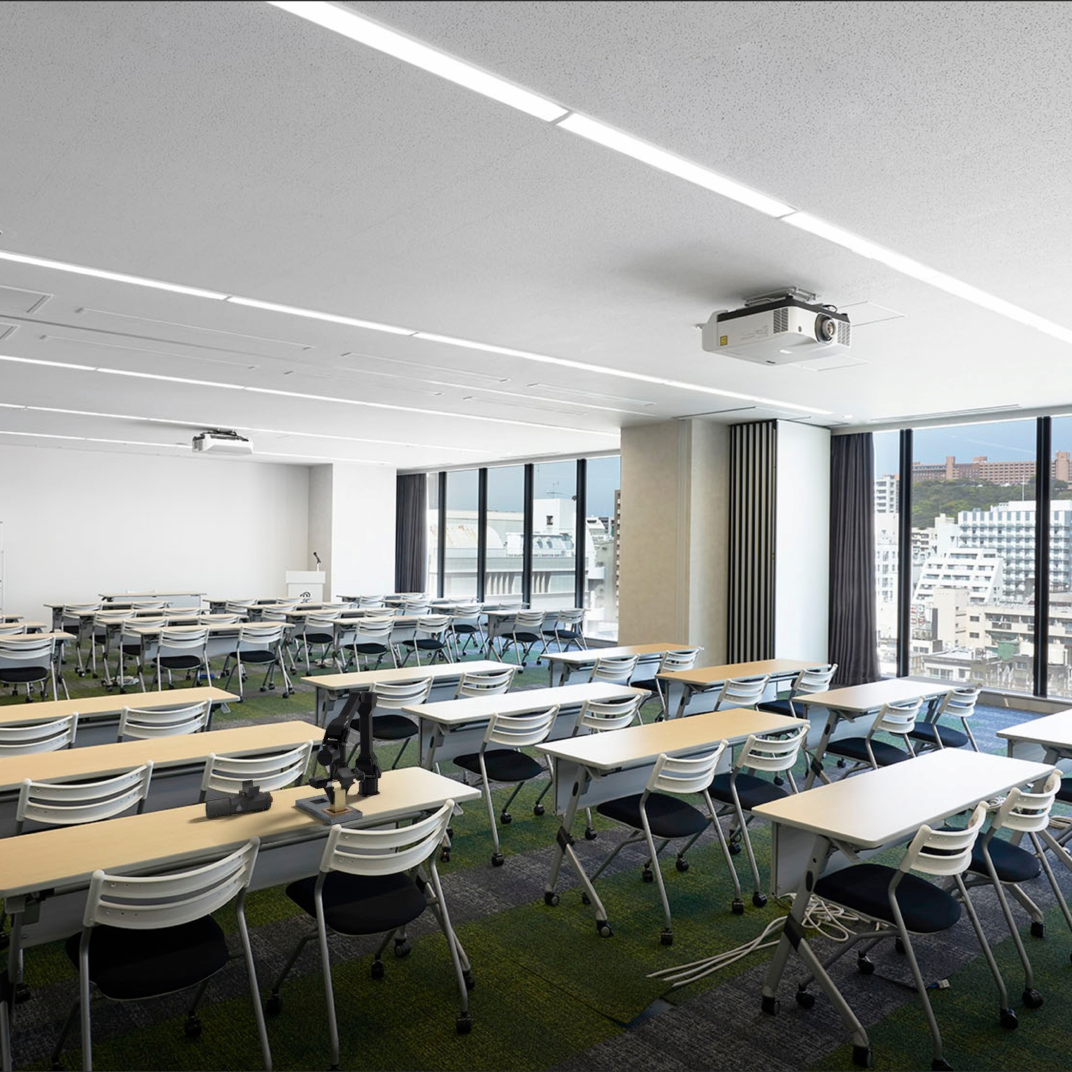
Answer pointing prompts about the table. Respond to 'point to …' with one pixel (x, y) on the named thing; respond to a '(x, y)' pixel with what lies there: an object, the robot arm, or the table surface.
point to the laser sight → (240, 802)
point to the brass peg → (338, 800)
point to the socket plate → (327, 810)
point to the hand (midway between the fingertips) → (337, 803)
